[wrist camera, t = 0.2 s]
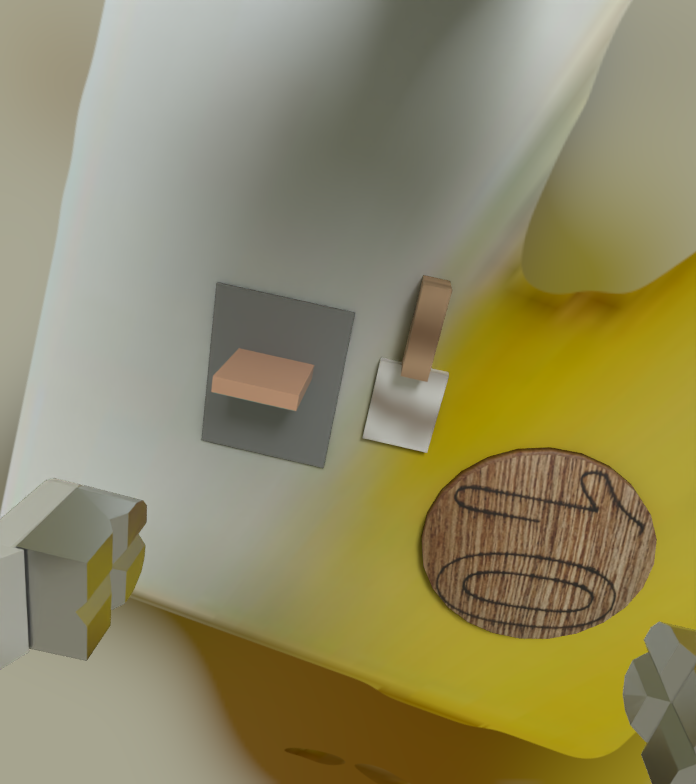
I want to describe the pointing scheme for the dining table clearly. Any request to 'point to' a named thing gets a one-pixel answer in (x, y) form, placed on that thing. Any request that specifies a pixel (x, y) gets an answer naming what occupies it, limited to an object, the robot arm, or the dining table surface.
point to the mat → (286, 340)
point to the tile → (263, 379)
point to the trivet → (538, 543)
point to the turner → (412, 377)
